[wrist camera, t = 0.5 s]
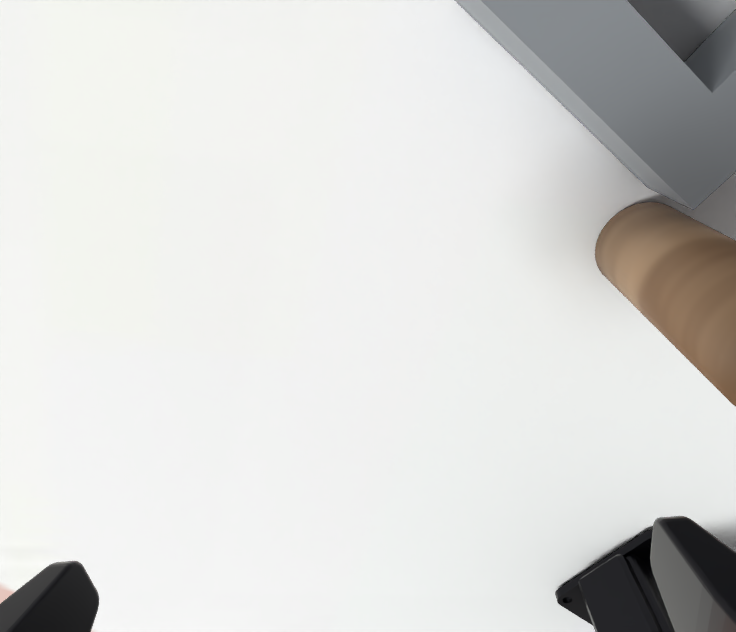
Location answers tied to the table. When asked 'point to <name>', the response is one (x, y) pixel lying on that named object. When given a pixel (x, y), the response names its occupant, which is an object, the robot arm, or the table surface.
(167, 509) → the table surface
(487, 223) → the table surface
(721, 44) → the socket
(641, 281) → the peg
